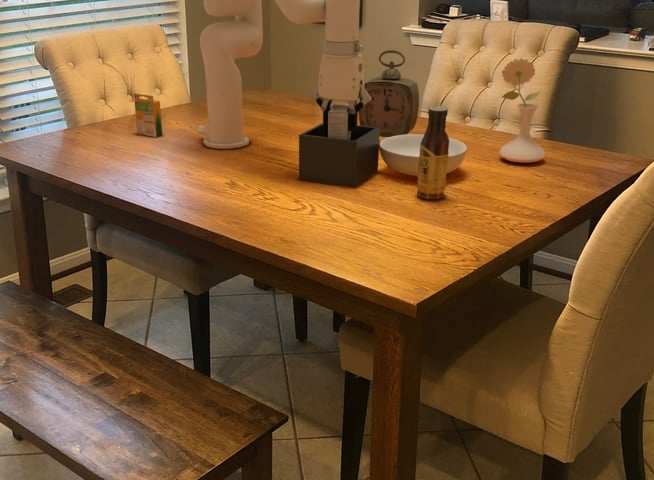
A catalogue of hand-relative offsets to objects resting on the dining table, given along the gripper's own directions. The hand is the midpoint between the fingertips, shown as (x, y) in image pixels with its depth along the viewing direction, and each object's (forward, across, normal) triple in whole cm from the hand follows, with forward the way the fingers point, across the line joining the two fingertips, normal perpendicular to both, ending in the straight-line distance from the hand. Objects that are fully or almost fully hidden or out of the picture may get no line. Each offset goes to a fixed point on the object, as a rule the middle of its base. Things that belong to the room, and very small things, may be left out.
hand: (339, 127), depth 192 cm
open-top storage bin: (+12, 0, 0) cm, 12 cm away
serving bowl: (+12, -17, -11) cm, 24 cm away
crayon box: (+12, +65, -13) cm, 67 cm away
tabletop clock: (+12, -1, -31) cm, 33 cm away
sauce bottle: (+12, -25, +6) cm, 28 cm away
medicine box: (+4, 0, 0) cm, 4 cm away
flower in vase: (+12, -36, -32) cm, 50 cm away
